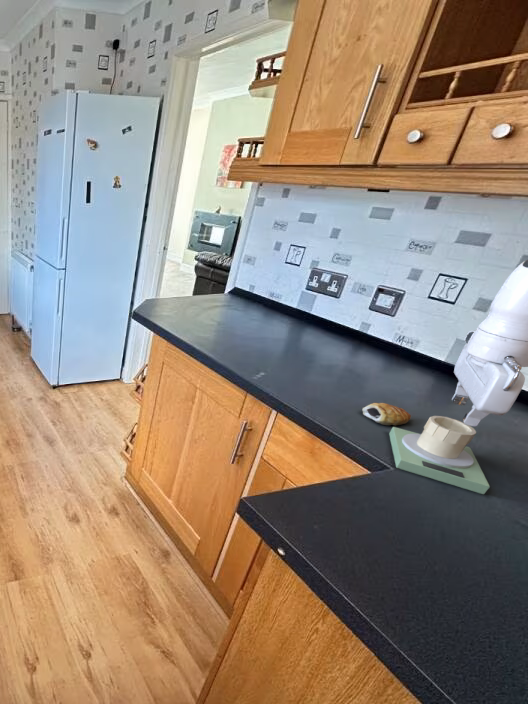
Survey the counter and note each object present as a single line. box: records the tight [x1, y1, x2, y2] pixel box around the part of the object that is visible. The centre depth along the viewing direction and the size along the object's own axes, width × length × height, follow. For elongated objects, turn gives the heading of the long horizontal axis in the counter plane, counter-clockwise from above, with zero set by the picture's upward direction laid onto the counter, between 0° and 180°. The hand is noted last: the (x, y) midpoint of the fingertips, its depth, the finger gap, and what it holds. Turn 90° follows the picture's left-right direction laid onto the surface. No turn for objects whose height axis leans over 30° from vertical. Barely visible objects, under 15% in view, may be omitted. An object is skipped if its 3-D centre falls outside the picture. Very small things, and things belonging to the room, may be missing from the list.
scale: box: [388, 426, 491, 495], centre depth 86 cm, size 13×15×3 cm
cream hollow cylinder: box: [417, 415, 477, 459], centre depth 84 cm, size 7×7×6 cm
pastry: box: [361, 402, 412, 426], centre depth 100 cm, size 9×7×4 cm
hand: (462, 413), depth 81 cm, fingers open, 8 cm apart
